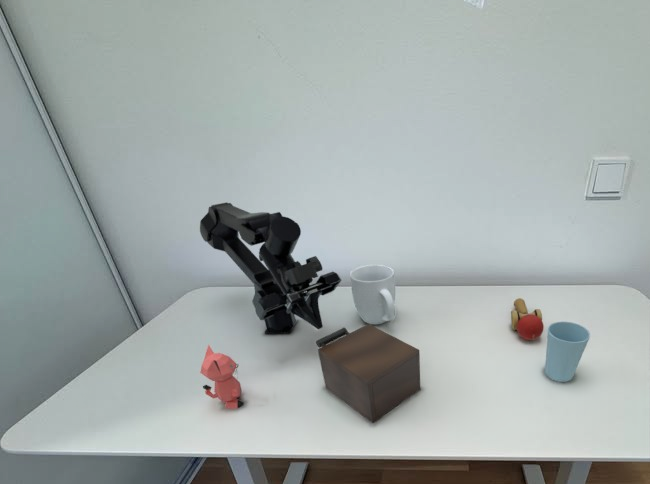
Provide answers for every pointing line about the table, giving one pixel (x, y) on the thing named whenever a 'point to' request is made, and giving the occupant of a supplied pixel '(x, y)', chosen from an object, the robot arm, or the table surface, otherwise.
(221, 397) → the cat figurine
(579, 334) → the cup
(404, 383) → the cabinet
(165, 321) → the table surface
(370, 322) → the mug
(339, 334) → the drawer
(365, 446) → the table surface
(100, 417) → the table surface
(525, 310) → the kendama
